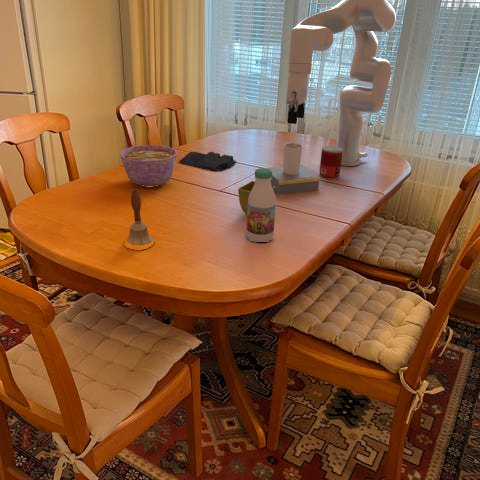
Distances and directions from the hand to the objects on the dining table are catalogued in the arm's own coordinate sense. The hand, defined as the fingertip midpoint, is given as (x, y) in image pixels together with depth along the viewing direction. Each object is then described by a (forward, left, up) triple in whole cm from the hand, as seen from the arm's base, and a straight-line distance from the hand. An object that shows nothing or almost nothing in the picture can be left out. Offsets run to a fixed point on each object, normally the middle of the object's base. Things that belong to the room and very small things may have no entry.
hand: (295, 120), depth 158 cm
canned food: (-20, -6, -24) cm, 32 cm away
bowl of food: (+49, -15, -24) cm, 57 cm away
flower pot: (+22, +21, -24) cm, 39 cm away
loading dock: (0, 0, -24) cm, 24 cm away
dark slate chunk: (+22, -33, -25) cm, 47 cm away
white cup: (0, 0, -19) cm, 19 cm away
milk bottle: (+27, +37, -24) cm, 52 cm away
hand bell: (+60, +31, -24) cm, 72 cm away
